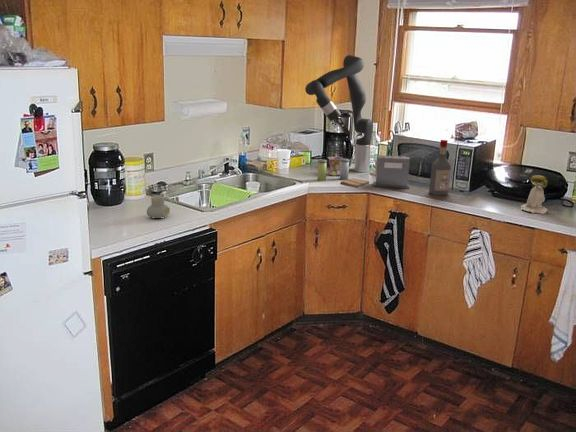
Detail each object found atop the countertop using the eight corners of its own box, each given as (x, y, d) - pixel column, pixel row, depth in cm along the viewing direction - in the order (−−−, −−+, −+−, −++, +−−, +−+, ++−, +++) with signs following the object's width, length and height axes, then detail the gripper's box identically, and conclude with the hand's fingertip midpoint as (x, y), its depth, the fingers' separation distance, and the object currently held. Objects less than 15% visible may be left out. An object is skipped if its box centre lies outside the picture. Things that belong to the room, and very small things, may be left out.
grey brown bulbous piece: (161, 221, 276) (160, 200, 273) (145, 219, 278) (143, 199, 275) (171, 214, 286) (170, 194, 283) (156, 213, 288) (155, 193, 285)
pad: (351, 180, 359) (351, 178, 359) (368, 183, 352) (369, 181, 352) (340, 183, 350) (340, 181, 350) (357, 187, 343) (358, 185, 343)
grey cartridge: (342, 177, 365) (343, 158, 361) (349, 178, 362) (351, 159, 358) (338, 179, 361) (339, 159, 357) (345, 180, 358) (346, 160, 354)
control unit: (373, 182, 354) (375, 154, 349) (407, 184, 352) (410, 156, 347) (374, 186, 345) (376, 157, 340) (409, 188, 344) (411, 159, 338)
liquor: (450, 195, 332) (456, 141, 323) (435, 196, 330) (441, 142, 321) (441, 190, 341) (446, 138, 331) (427, 191, 338) (432, 139, 329)
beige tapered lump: (516, 206, 313) (521, 172, 308) (540, 207, 314) (545, 173, 309) (526, 213, 302) (531, 178, 297) (550, 213, 303) (556, 178, 297)
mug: (342, 173, 375) (343, 156, 372) (342, 177, 366) (343, 160, 363) (323, 172, 376) (324, 156, 373) (322, 176, 367) (323, 159, 364)
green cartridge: (320, 178, 361) (321, 159, 357) (327, 180, 358) (328, 160, 354) (315, 180, 357) (316, 160, 353) (322, 181, 354) (323, 161, 350)
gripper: (324, 114, 348) (340, 136, 351) (327, 115, 334) (344, 138, 338) (334, 106, 347) (350, 128, 351) (337, 107, 334) (355, 130, 337)
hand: (347, 133), depth 344 cm, fingers open, 8 cm apart
